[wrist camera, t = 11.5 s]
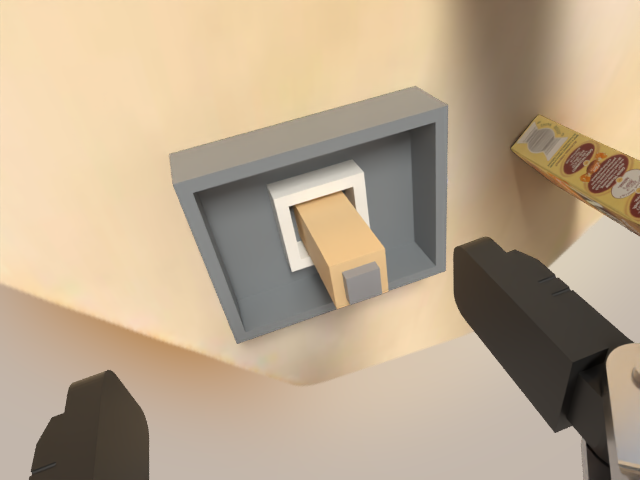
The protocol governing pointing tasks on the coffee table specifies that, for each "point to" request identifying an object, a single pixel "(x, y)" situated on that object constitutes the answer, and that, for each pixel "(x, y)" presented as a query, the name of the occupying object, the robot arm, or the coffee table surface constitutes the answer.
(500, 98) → the coffee table surface
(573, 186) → the candy box
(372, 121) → the box
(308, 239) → the connector
